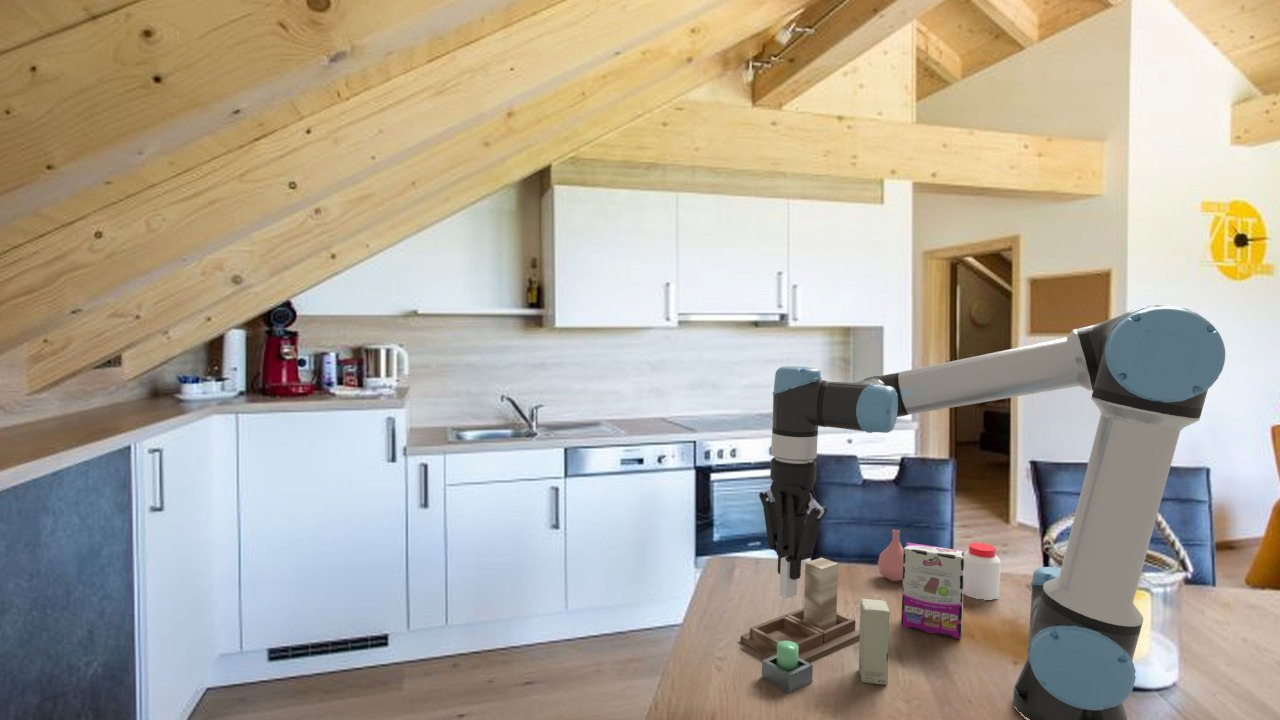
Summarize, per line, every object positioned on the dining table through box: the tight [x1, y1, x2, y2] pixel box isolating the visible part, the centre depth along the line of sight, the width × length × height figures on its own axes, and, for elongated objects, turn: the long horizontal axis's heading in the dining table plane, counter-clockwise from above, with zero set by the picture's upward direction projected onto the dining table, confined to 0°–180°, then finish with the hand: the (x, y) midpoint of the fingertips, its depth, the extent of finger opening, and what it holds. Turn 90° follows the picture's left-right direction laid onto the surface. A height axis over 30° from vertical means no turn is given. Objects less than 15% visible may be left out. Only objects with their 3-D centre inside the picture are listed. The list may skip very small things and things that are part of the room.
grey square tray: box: [761, 654, 814, 694], centre depth 115 cm, size 6×6×3 cm
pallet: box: [739, 557, 860, 663], centre depth 130 cm, size 13×21×14 cm, turn 127°
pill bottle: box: [963, 542, 1002, 601], centre depth 153 cm, size 8×8×11 cm
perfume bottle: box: [877, 529, 904, 582], centre depth 161 cm, size 8×8×12 cm
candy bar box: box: [900, 542, 966, 640], centre depth 135 cm, size 11×5×16 cm, turn 62°
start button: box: [777, 641, 799, 672], centre depth 115 cm, size 4×4×4 cm
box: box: [858, 598, 891, 686], centre depth 116 cm, size 5×4×13 cm
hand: (788, 594), depth 115 cm, fingers closed
